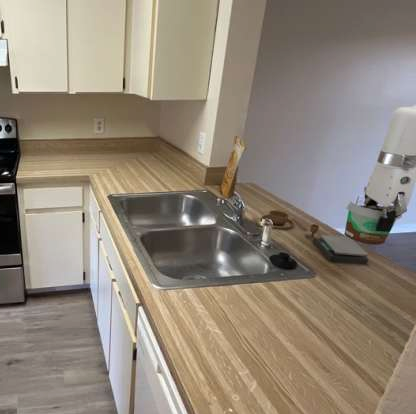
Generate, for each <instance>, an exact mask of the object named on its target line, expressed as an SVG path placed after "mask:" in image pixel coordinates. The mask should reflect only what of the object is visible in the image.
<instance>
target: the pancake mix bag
mask: <svg viewBox="0 0 416 414" xmlns="http://www.w3.org/2000/svg"><path fill="white" fill-rule="evenodd" d="M246 149H247V144H246V142H245V141H243V139H242V138H241V137H239V136H238V135H235V136H234V142H233V146H232V150H231V153H230V157H229V159H228V162H227V165H226V168H225V171H224V172H225V173H224V175H223V178H222V182H221V185H220V190H221V195H222V197H226V199H229V198H231V197H233V196H234V193H235V189H236V183H237V168H238V165H239V163H240V161H241V158H242V156H243V154H244V153H245V151H246Z"/></svg>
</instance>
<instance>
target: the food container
mask: <svg viewBox="0 0 416 414" xmlns="http://www.w3.org/2000/svg"><path fill="white" fill-rule="evenodd" d="M346 210H348V213H347V217H346V218H347V219H346V223H345V228H344V236H345V237H349V238H350V239H352V240H353V241H355V242H356V243H357V242H358V243H361V244H365V245H372V246H379V245H383V244H385V242H386V241H387V238H388V236H389V234H390V233H391V231H390V232H380V231H376V230H375V229H376V226H377V223H378V220H379V218H380V216H382V213H383V205H359V204H356V203H354V202H352V201H350V202H349V203H348V205H347V207H346ZM392 210H393V208H388V212H390V211H392ZM402 217H403V214H401V215H400V216H398V218H397V219H395V220H394V223H393V226H392V228H391V230H392V229H393V228H394V225H395V223H396V222H397V220H399V219H401V218H402Z"/></svg>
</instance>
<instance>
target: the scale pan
mask: <svg viewBox="0 0 416 414" xmlns="http://www.w3.org/2000/svg"><path fill="white" fill-rule="evenodd" d="M319 238H321V239H322V240H323V241H324V242H325V243H326V244H327V245H328V246H329V247H330V248H331V250H332V251H333V252H334V253H335V254H343V255H355V256H366V257H367V258H368V257H369V253H368V252H367V251H365V249H363V248H362V247H361V246H360V245H359V244H358V243H357V241H355V240H352V239H350V238H349V237H347V236H341V235H340V236H339V235H328V234H327V235H326V234H320V235H319Z"/></svg>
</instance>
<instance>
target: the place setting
mask: <svg viewBox="0 0 416 414" xmlns="http://www.w3.org/2000/svg"><path fill="white" fill-rule="evenodd" d="M264 218H267V219H268V218H269V219H271V220H272V222H273V224H272V225H273V226H274V228H273V229H274V230H281V231H282V230H283V231H284V230H290V229H293V227H294V225H295V223H294V221H293V220H292V219H290V218H289V213H287V212H285V211H282V210H270V211H269V212H268V214H265V215H262V216H261V217H260V221H261V220H262V219H264ZM269 219H268V220H269ZM264 220H265V219H264ZM254 222H255V223H256V225H257V226H258V227H260V228H261V226H260V224H261V223H260V222H259V221H257V220H256V219H254ZM286 223H288V225H289V226H282V225H284V224H286ZM319 228H320V226H319V225H318V224H316V223H313V224H311V225H310V228H309V232H310V233H311V234H310V237H309V239H310V240H314V238H315V234H317V233H318V231H319ZM304 231H307V229H305V228H304Z"/></svg>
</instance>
